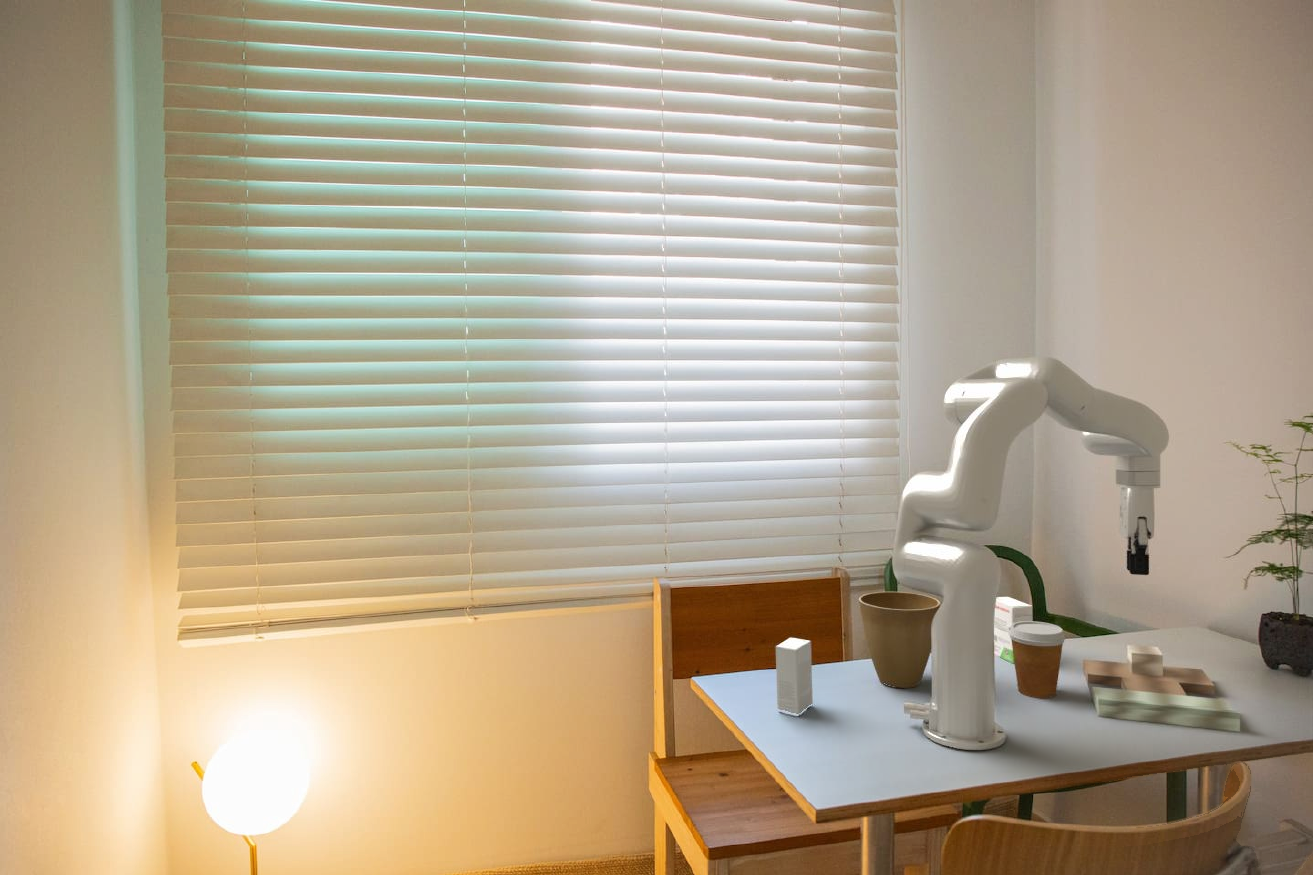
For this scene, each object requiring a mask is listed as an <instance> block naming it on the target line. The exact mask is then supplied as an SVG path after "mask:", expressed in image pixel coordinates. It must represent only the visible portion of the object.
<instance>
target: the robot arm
mask: <svg viewBox="0 0 1313 875" xmlns="http://www.w3.org/2000/svg"><path fill="white" fill-rule="evenodd" d="M942 403H943V405H942V406H943V412H944V415H945V417H946V418H947V420H948V421H949V422H950V423H951V424H952V425H954V426H956V427H959V428H958V430H957V431H956V434H955V436H954V437H953V438H954V439H953V440H952V444H951V449H950V454H949V460H948V464H947V465H948V466H947V467H946V468H947V469H946V471H942V470H939V471H938V470H925V471H920V472H918V473H915V475H913V476H912V477H911V478H910V479H908V481H907V482H906V485H905V486H904V488H903V491H902V493H901V496H900V500H899V505H898V513H897V519H896V520H897V521H896V527H895V534H894V542H893V550H892V560H891V561H892V562H891V563H892V564H891V565H892V571H893V574H894V577H895V580H897V581H898V583H899V584H900V585H902V586H903V587H904V588H907V589H911V590H914V591H918V592H921V593H926V594H930V595H935V596H937V597H942V598H943V600H942V603H941V604H940V608H939V609H938V611H937V612H936V614H935V615H934V618H933V620H932V625H931V652H930V656H931V698H930V701H929V702H928V701H927V702H926V701H924V703H916V702H911V701H904V702H903V713H904V714H905V715H909V718H910V719H912V720H923V721H922V724H921V726H922V730H921V731H922V732H923V734H924V735H925V736H926V737H927V738H930V739H929V740H931V741H933V742H935V743H937V744H940V745H942V746H946V747H948V746H949V748H952V747H953V748H954V749H959V750H965V751H966V750H967V751H984V750H991V749H996V748H997V747H1000V746H1002V744H1004V743H1005V741H1006V730H1005V729H1004V728H1003V727H1002V725H1000V723H997V722H996V714H995V713H996V709H995V708H996V706H995V704H996V702H995V700H996V699H995V696H996V695H995V693H996V691H995V688H996V687H995V679H996V678H995V673H996V672H995V654H994V616H995V605H996V598H997V597H998V592H999V588H1000V583H1001V574H1002V569H1001V567H1002V566H1001V563H1000V560H999V558H998V556H997V555H996V554H995V553H994V551H993V550H991V549H990V548H989V547H987V546H985V545H983V544H981V543H978V542H974V541H969V540H965V539H964V540H963V539H958V538H951V537H943V536H939V535H940V534H939V533H940V529H941V530H943V529H944V530H948V531H955V532H956V531H958V532H963V533H976V534H977V533H979V534H980V533H984V532H987V531H990V530H991V529H993V527H994V526H995V524H996V522H997V518H998V516H999V511H1000V505H1001V500H1002V499H1001V498H1002V493H1003V485H1004V484H1003V483H1004V478H1005V471H1006V470H1005V468H1006V464H1007V457H1008V454H1009V451H1010V448H1011V447H1012V444H1013V442H1014V441H1015V440H1016V439H1017V438H1018V436H1019V435H1020V434H1021V433H1022V432H1023V431H1025V430H1026V429H1027V428H1029V427H1030V426H1031V425H1033V424H1035V423H1036V422H1037V421H1038V420H1039V419H1040V418H1041V417H1042V415H1043V414H1046V415H1047V416H1048V417H1050V418H1052V420H1054V421H1055V422H1056V423H1058V424H1059V425H1060V426H1063V427H1064V428H1067V429H1070V430H1074V431H1078V432H1081V433H1080V439H1081V443H1082V445H1083V447H1084V448H1085V449H1086V450H1087V451H1088V452H1090V453H1091V454H1094V455H1098V456H1107V457H1109V456H1111V457H1115V487H1117V488H1120V492H1119V509H1118V510H1119V512H1118V532H1119V533H1120V534H1121V535H1122V536H1123V537H1124V538H1125V539H1126V540H1127V541H1126V542H1127V544H1126V545H1127V546H1126V547H1127V550H1126V570H1127V571H1129V574H1130V575H1135V576H1138V575H1139V576H1149V575H1150V554H1149V540H1152V539H1153V538H1154V536H1155V489H1159V488H1161V454H1162V453H1163V452H1165V450H1166V448H1167V447H1168V445H1169V441H1170V433H1169V429H1168V426H1167V424H1166V423H1165V421H1164V420H1163V418H1161V416H1160V415H1159V414H1157V413H1156V411H1154V410H1153V409H1151V408H1150V407H1149V406H1148V405H1146V404H1143V403H1141V402H1140V401H1137V400H1134V399H1132V398H1128V397H1125V396H1122V395H1119V394H1115V393H1113V392H1110V391H1107V390H1103V389H1100V388H1096V387H1095V386H1092V385H1091V384H1090V383H1089V382H1088V381H1086V380H1085V379H1084V378H1082V377H1081V376H1080V375H1079V374H1078V373H1076V372H1075V371H1073V369H1072V368H1070V367H1069V366H1068V365H1066V364H1065V363H1063V362H1062V361H1060V360H1059V359H1057V358H1054V357H1051V356H1029V357H1012V358H1010V357H1009V358H1003V359H999V360H996V361H993V362H991V363H988V364H987V365H984V366H982V367H980V368H978V369H976V370H974V371H973V372H970V373H969V374H967V375H965V376H963V377H961V378H959V379H957V380H956V381H954V382H953V383H952V384H950V386H949V387H948V389H947V390H946V392H945V394H944V397H943V402H942Z"/></svg>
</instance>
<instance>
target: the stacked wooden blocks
mask: <svg viewBox="0 0 1313 875" xmlns="http://www.w3.org/2000/svg"><path fill="white" fill-rule="evenodd" d="M1082 672H1083V673H1084V676H1085V677H1084V678H1085V680H1086V683H1087V686H1088V689H1089V692H1090V695H1091V699H1092V701H1093V704H1094V708H1095V710H1096V713H1097V716H1098V717H1102V718H1108V719H1109V718H1111V719H1119V720H1127V721H1139V722H1147V723H1155V724H1167V725H1174V726H1184V727H1191V728H1203V729H1210V730H1211V729H1212V730H1218V731H1219V730H1220V731H1221V730H1222V731H1230V732H1239V733H1240V732H1241V712H1240V711H1239V710H1234V709H1233V707H1231V705H1230V704H1229V703H1228V701H1226V699H1221V698H1217V696H1216V695H1215V684H1214V683H1213V682H1212V680H1211V679H1210V677H1209V676H1207V673H1206V672H1205V671H1204V670H1203V669H1201V668H1200V669H1199V668H1190V667H1189V668H1188V667H1187V668H1186V667H1178V666H1164V665H1163V677H1161V676H1150V675H1139V674H1131V672H1130V670H1129V668H1128V666H1127V662H1120V661H1119V662H1118V661H1107V660H1097V659H1096V660H1095V659H1084V658H1083V659H1082Z"/></svg>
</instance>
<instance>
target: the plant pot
mask: <svg viewBox="0 0 1313 875" xmlns="http://www.w3.org/2000/svg"><path fill="white" fill-rule="evenodd" d="M858 602H859V609H860V616H861V621H862V627H863V630H864V636H865V640H866V644H867V647H868V651H869V654H870V658H871V661H872V665H873V667H874V669H875V672H876V675H877V677H878V680H879V682H880V683H881V682H882V683H881V684H883V683H885V684H887V685H890V686H889V687H891V686H894V687H893V688H896V687H900V688H899V689H910V688H911V687H912V688H915V686H916V687H917V686H919V685H920V683H921V681H922V678H923V675H924V672H925V670H926V668H927V665H928V663H929V662H928V661H929V659H930V656H931V625H932V620H933V618H934V615H935V614H936V612H937V611H938V609H939V608H940V606H941V602H940V600H938V599H936V598H934V597H933V596H929V595H925V594H922V593H921V594H920V593H914V592H907V591H906V592H905V591H876V592H871V593H870V592H869V593H866V594H863V595H861V596H860V597H858ZM887 685H886V686H887Z"/></svg>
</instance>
